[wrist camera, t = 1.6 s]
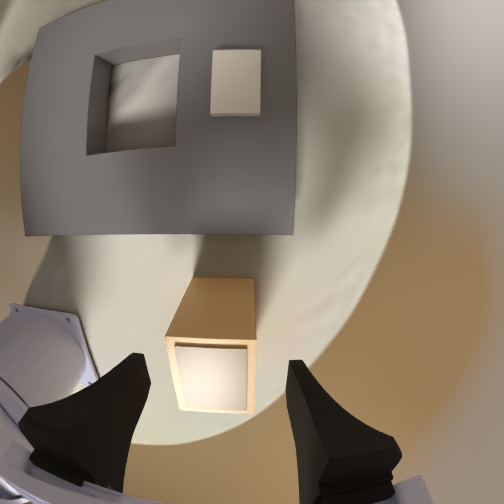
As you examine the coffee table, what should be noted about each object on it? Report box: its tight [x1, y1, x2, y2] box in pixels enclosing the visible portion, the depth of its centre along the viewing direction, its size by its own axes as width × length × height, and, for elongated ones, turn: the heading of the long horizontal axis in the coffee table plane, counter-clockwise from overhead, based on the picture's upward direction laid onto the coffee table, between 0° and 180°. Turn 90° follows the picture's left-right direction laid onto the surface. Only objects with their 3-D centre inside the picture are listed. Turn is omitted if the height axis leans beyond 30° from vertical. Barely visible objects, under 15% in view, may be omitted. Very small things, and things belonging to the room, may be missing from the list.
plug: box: [165, 277, 257, 413], centre depth 16 cm, size 4×5×7 cm
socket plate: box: [20, 0, 297, 236], centre depth 13 cm, size 18×16×3 cm
